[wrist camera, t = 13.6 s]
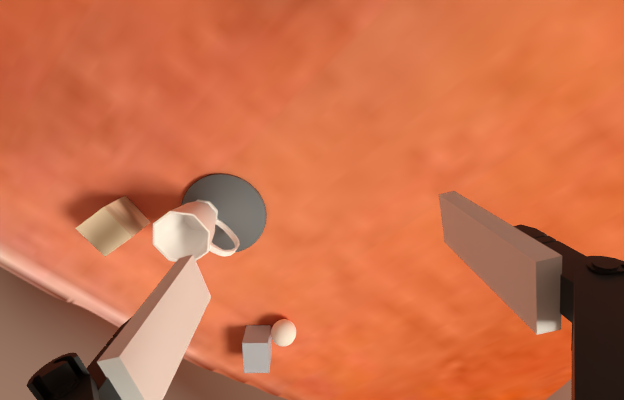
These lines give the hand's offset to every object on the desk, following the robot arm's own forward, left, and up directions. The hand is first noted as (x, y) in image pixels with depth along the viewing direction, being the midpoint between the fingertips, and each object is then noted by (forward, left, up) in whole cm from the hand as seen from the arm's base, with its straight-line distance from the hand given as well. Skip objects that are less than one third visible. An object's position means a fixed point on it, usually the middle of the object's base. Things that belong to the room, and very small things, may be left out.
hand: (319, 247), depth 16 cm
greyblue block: (+28, -16, -27) cm, 42 cm away
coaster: (+5, -14, -27) cm, 31 cm away
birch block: (+2, -28, -27) cm, 39 cm away
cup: (+5, -16, -26) cm, 31 cm away
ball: (+26, -11, -27) cm, 39 cm away
